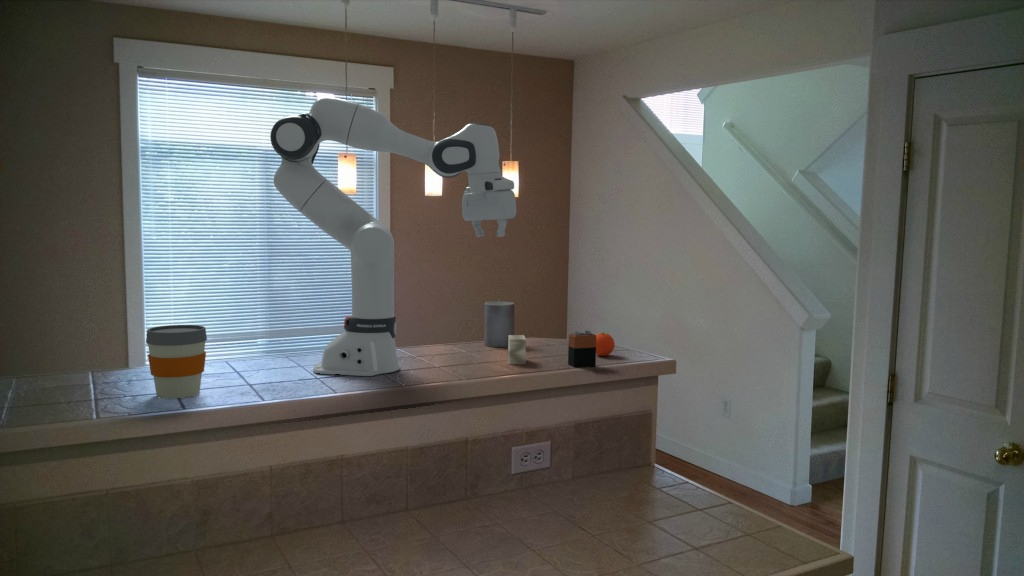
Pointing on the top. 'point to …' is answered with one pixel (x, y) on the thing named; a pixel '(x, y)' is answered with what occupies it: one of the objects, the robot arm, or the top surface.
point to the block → (516, 349)
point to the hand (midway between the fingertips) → (490, 236)
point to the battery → (582, 349)
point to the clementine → (604, 344)
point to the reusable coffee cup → (177, 359)
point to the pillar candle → (498, 323)
